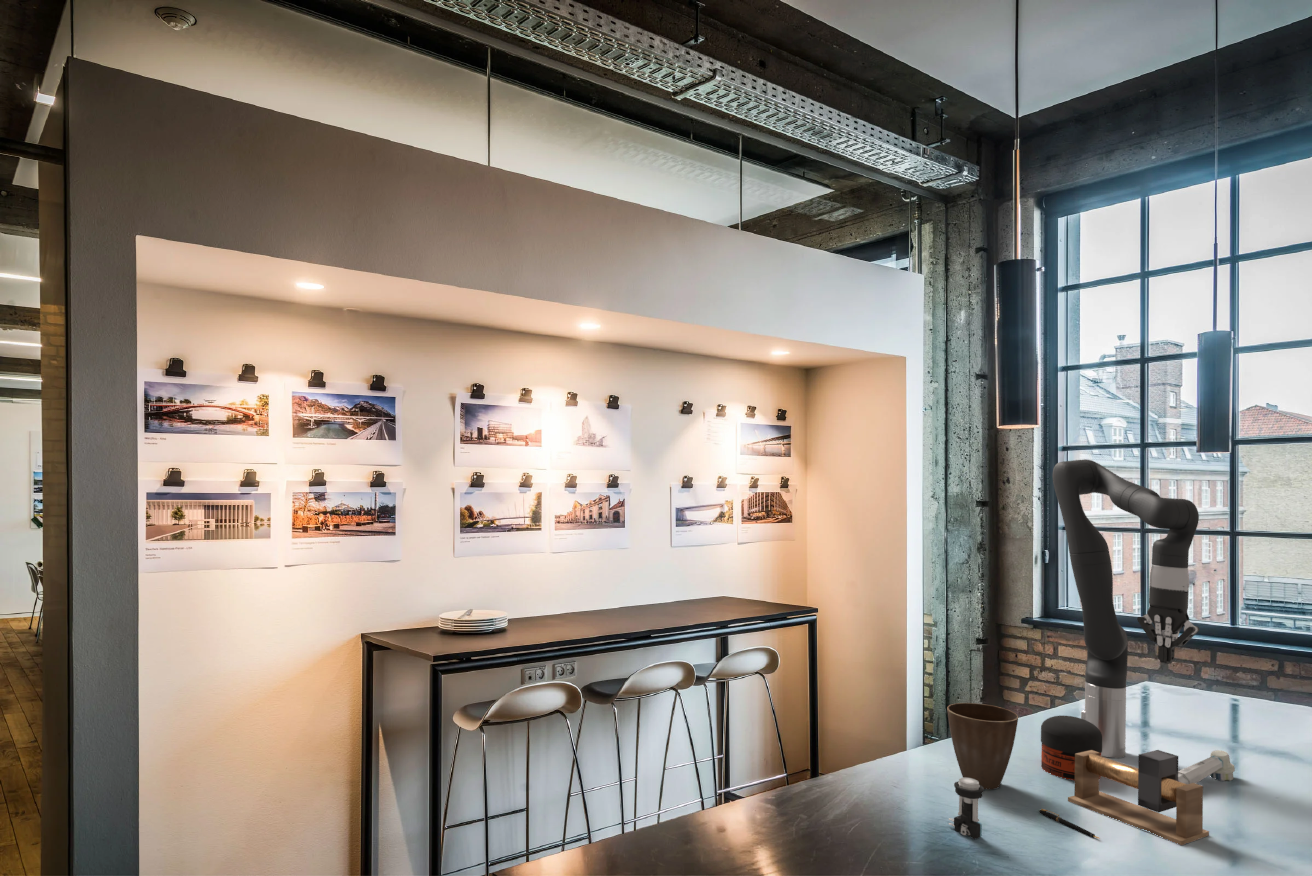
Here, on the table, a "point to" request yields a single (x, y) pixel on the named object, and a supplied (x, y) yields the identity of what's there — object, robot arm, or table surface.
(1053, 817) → the fountain pen
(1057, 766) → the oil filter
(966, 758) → the plant pot
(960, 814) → the push button
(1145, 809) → the stand
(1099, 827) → the table surface
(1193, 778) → the toothbrush head
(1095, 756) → the pipe
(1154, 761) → the collar
